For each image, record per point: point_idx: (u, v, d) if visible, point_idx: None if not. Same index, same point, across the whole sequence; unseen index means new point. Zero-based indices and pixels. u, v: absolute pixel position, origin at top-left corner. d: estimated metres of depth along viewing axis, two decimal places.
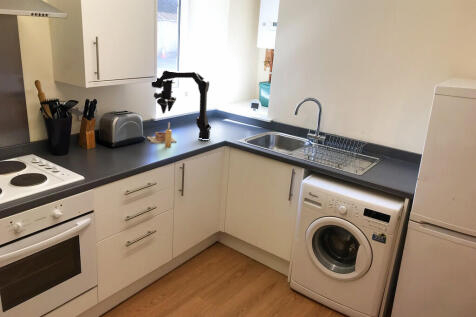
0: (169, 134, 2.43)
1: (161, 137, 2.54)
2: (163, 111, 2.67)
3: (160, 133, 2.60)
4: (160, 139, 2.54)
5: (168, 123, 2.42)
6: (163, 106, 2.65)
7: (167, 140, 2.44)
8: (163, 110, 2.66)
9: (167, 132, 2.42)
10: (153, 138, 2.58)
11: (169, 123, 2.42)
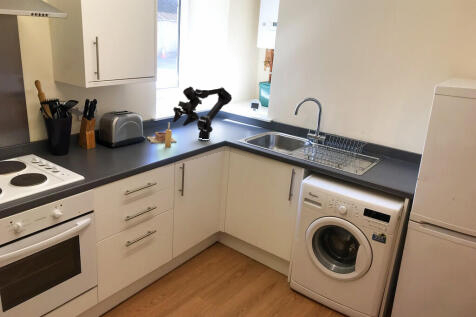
0: (169, 134, 2.43)
1: (161, 137, 2.54)
2: (185, 124, 2.46)
3: (160, 133, 2.60)
4: (160, 139, 2.54)
5: (168, 123, 2.42)
6: (189, 120, 2.47)
7: (167, 140, 2.44)
8: (186, 123, 2.46)
9: (167, 132, 2.42)
10: (153, 138, 2.58)
11: (169, 123, 2.42)
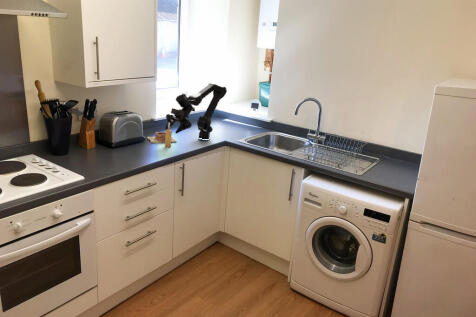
0: (169, 134, 2.43)
1: (161, 137, 2.54)
2: (178, 131, 2.42)
3: (160, 133, 2.60)
4: (160, 139, 2.54)
5: (168, 123, 2.42)
6: (182, 127, 2.43)
7: (167, 140, 2.44)
8: (179, 130, 2.43)
9: (167, 132, 2.42)
10: (153, 138, 2.58)
11: (169, 123, 2.42)
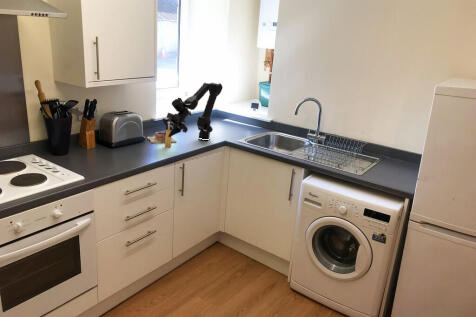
0: None
1: (161, 137, 2.54)
2: (171, 135, 2.42)
3: (160, 133, 2.60)
4: (160, 139, 2.54)
5: (168, 123, 2.42)
6: (175, 131, 2.43)
7: (167, 140, 2.44)
8: (172, 134, 2.43)
9: (167, 132, 2.42)
10: (153, 138, 2.58)
11: (169, 123, 2.42)
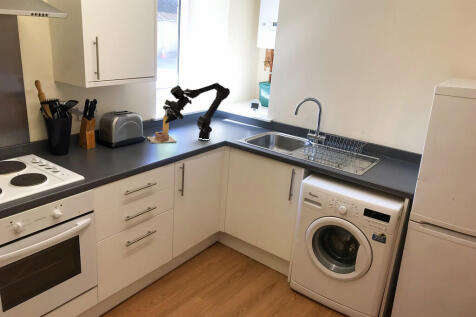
0: None
1: (161, 137, 2.54)
2: (167, 121, 2.47)
3: (160, 133, 2.60)
4: (160, 139, 2.54)
5: None
6: (172, 117, 2.48)
7: (164, 126, 2.49)
8: (168, 120, 2.47)
9: (164, 118, 2.47)
10: (153, 138, 2.58)
11: (166, 110, 2.47)
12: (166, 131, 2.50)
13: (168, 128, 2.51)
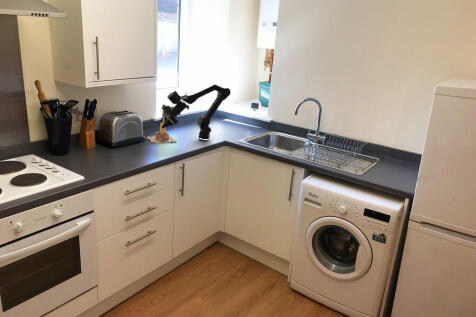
0: None
1: (161, 137, 2.54)
2: (164, 126, 2.51)
3: None
4: (160, 139, 2.54)
5: (163, 116, 2.54)
6: (168, 123, 2.51)
7: (160, 132, 2.56)
8: (165, 126, 2.51)
9: (161, 124, 2.54)
10: (153, 138, 2.58)
11: (164, 116, 2.54)
12: None
13: (164, 134, 2.57)
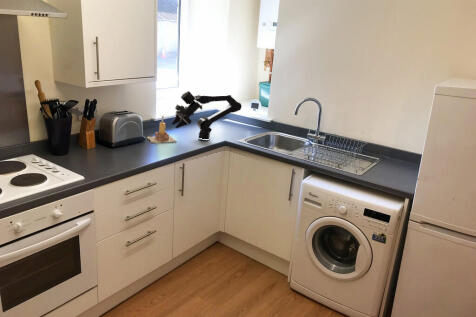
0: (161, 127, 2.54)
1: (161, 137, 2.54)
2: (178, 126, 2.55)
3: None
4: (160, 139, 2.54)
5: (162, 116, 2.54)
6: (182, 123, 2.54)
7: (160, 132, 2.56)
8: (179, 125, 2.54)
9: (160, 125, 2.54)
10: (153, 138, 2.58)
11: (162, 116, 2.54)
12: None
13: (164, 134, 2.57)
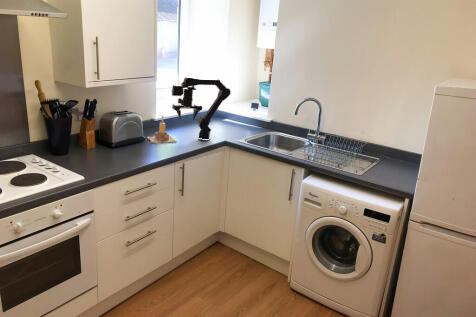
0: (161, 127, 2.54)
1: (161, 137, 2.54)
2: (179, 117, 2.60)
3: None
4: (160, 139, 2.54)
5: (162, 116, 2.54)
6: (178, 112, 2.58)
7: (160, 132, 2.56)
8: (178, 116, 2.59)
9: (160, 125, 2.54)
10: (153, 138, 2.58)
11: (162, 116, 2.53)
12: None
13: (164, 134, 2.57)
